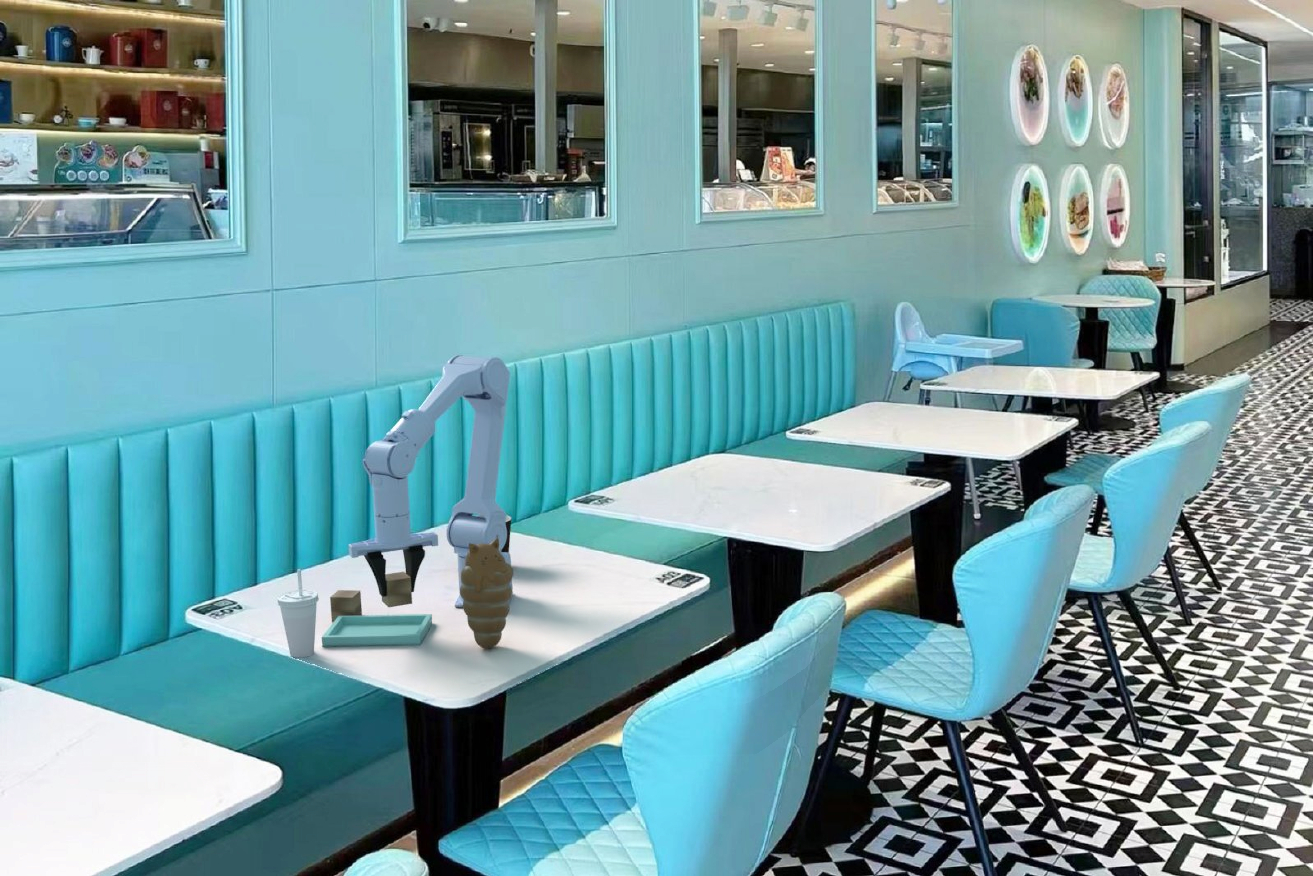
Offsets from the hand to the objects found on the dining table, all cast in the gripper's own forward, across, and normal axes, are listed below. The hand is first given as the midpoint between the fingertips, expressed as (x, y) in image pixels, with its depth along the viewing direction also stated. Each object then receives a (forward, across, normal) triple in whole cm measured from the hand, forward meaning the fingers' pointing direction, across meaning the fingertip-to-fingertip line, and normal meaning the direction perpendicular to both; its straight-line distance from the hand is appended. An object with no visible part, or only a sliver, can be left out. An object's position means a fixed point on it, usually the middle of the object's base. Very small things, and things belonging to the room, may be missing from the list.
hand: (396, 592), depth 219 cm
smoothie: (+7, +16, +1) cm, 18 cm away
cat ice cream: (+7, -11, +14) cm, 19 cm away
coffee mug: (+7, -26, -30) cm, 40 cm away
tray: (+7, +3, -2) cm, 8 cm away
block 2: (+2, 0, 0) cm, 2 cm away
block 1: (+7, +6, -13) cm, 16 cm away
